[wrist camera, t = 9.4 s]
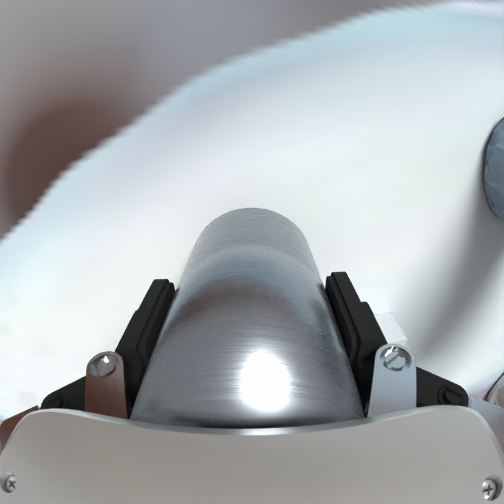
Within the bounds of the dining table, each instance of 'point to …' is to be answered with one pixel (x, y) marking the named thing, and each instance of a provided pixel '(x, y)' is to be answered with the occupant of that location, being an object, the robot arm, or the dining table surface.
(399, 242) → the dining table surface
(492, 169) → the moka pot
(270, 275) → the end cover
